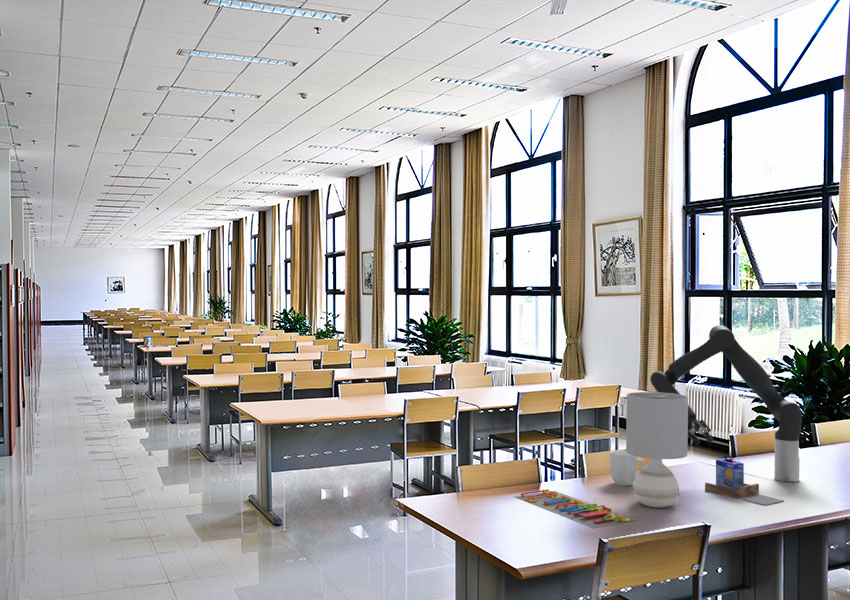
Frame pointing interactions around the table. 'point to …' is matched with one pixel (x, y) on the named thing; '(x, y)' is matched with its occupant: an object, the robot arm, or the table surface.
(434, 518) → the table surface
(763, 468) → the table surface
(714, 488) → the frame
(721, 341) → the robot arm
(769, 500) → the pad
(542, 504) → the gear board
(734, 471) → the ink cartridge box
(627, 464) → the mug
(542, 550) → the table surface
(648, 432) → the lamp
